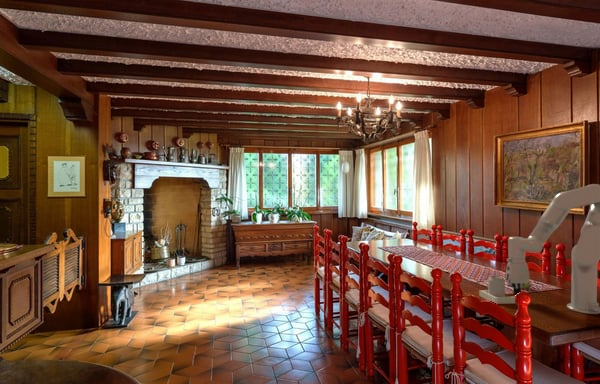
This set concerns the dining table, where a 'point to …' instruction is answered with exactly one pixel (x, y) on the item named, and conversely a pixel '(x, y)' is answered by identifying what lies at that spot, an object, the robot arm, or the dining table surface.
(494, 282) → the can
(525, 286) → the dumbbell
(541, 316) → the dining table surface
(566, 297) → the dining table surface
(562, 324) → the dining table surface
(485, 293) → the pale green shallow tray
